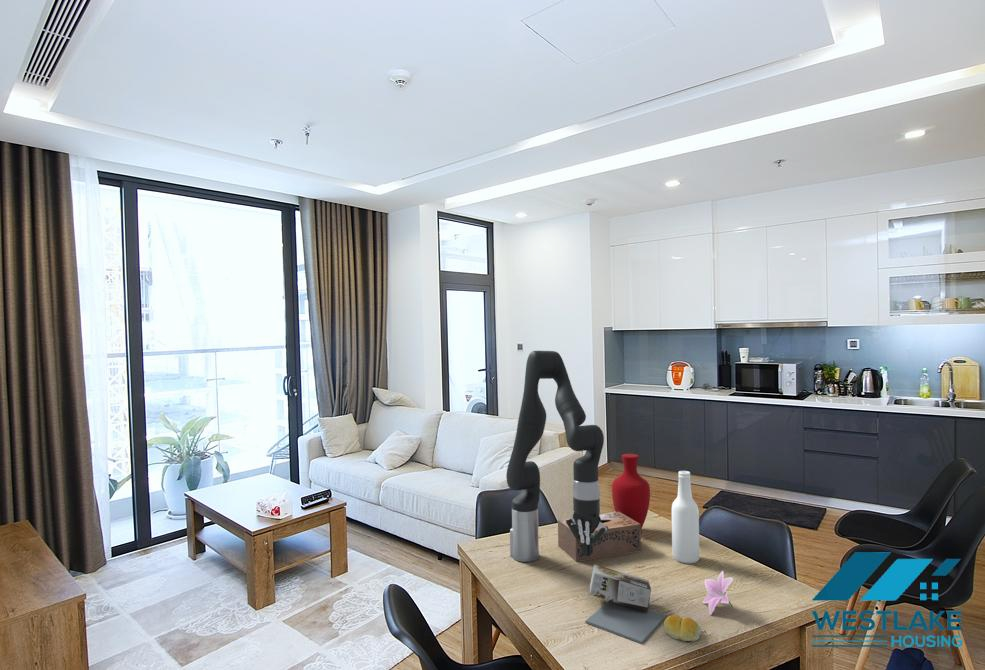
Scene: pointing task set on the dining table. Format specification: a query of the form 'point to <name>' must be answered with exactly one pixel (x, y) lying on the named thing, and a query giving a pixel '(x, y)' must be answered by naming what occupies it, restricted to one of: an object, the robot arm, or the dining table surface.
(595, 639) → the dining table surface
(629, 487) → the vase
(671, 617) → the bread roll
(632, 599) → the coffee box
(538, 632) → the dining table surface
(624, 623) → the mat
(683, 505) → the alcohol
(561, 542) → the tissue box cover
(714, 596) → the lily
